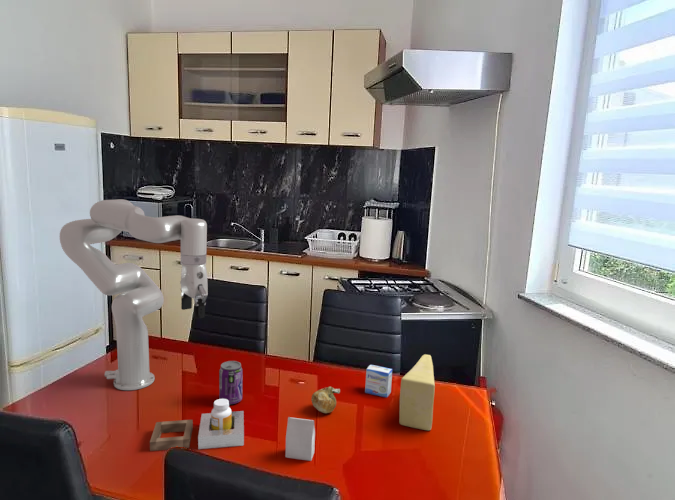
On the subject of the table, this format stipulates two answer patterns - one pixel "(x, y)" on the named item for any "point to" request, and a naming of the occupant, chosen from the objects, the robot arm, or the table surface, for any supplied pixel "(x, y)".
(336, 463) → the table surface
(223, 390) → the beverage can
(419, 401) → the cheese
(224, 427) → the supplement bottle
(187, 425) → the brown square wooden frame
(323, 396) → the onion
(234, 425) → the metal collar
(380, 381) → the medicine box
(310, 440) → the white boxy piece
